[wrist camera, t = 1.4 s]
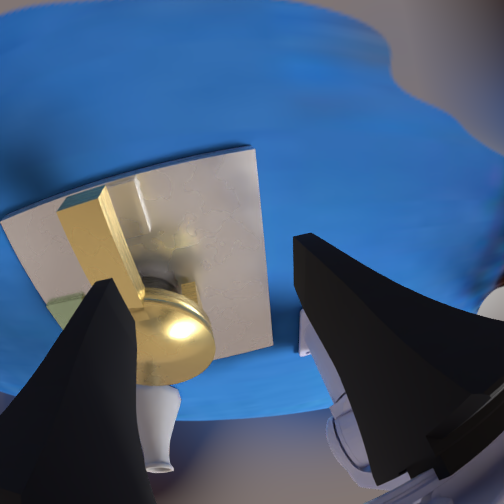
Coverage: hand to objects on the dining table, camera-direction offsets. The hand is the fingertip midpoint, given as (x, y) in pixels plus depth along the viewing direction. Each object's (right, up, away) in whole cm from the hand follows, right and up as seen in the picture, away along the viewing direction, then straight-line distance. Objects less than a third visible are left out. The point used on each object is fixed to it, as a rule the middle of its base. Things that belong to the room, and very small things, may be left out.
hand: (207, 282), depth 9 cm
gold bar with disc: (-6, 0, +10) cm, 12 cm away
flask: (-11, -16, +22) cm, 29 cm away
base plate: (-6, -2, +13) cm, 14 cm away
